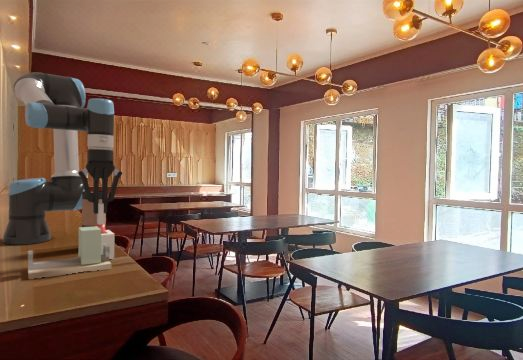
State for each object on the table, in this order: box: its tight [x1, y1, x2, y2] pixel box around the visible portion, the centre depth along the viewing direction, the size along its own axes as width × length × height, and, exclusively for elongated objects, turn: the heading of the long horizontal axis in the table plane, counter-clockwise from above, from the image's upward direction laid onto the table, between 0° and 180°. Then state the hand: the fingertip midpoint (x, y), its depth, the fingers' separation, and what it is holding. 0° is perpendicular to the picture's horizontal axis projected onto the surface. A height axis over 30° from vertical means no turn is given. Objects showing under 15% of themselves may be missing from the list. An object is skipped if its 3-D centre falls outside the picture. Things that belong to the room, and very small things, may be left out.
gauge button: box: [95, 224, 105, 234], centre depth 117 cm, size 3×3×5 cm
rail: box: [27, 244, 112, 280], centre depth 104 cm, size 9×20×6 cm, turn 124°
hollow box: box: [101, 229, 115, 260], centre depth 117 cm, size 8×7×8 cm
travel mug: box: [81, 190, 107, 230], centre depth 129 cm, size 8×8×20 cm
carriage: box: [77, 226, 101, 265], centre depth 106 cm, size 6×5×10 cm
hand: (100, 223), depth 117 cm, fingers closed
